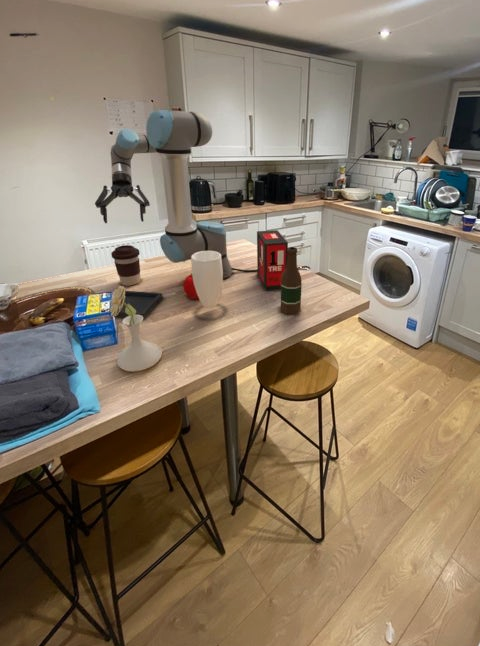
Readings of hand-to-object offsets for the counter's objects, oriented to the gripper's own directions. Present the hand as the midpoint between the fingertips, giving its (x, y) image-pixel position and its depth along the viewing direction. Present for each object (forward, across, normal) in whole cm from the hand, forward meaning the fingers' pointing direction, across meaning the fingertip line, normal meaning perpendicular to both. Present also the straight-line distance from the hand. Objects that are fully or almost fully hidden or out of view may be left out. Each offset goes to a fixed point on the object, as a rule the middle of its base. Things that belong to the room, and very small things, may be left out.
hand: (124, 220), depth 137 cm
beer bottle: (+51, -56, +19) cm, 79 cm away
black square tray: (+39, -3, +7) cm, 40 cm away
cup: (+47, -29, +14) cm, 57 cm away
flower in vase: (+63, -7, +30) cm, 70 cm away
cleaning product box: (+34, -56, +1) cm, 65 cm away
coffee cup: (+24, 0, -9) cm, 26 cm away
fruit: (+37, -25, +5) cm, 45 cm away
